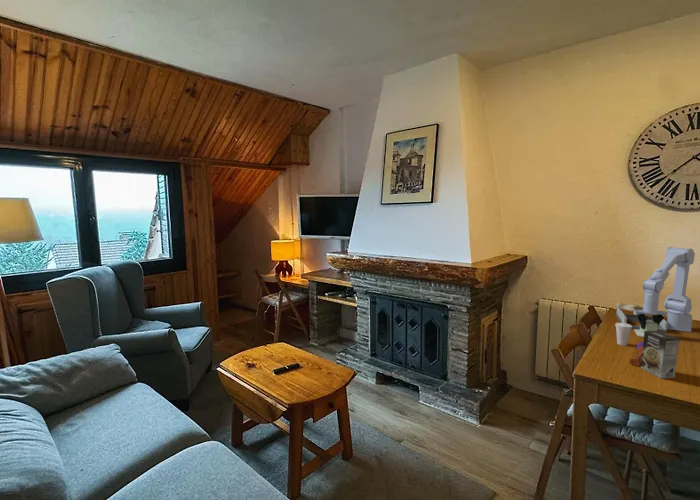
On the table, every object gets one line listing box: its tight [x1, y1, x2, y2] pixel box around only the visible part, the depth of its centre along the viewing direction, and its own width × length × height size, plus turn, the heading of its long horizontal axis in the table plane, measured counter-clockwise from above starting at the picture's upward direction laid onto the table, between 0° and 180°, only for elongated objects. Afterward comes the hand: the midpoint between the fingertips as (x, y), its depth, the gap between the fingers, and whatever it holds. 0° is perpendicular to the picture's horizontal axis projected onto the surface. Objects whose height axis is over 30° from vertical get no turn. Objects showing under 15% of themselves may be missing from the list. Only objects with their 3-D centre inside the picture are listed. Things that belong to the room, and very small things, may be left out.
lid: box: [615, 302, 644, 312], centre depth 209 cm, size 18×13×3 cm
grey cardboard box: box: [640, 331, 680, 379], centre depth 142 cm, size 9×6×16 cm
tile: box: [633, 329, 644, 338], centre depth 184 cm, size 10×10×1 cm
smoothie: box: [614, 316, 633, 347], centre depth 172 cm, size 6×6×14 cm
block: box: [639, 320, 658, 332], centre depth 184 cm, size 5×5×5 cm
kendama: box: [629, 341, 644, 367], centre depth 156 cm, size 6×6×20 cm
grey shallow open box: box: [615, 306, 668, 334], centre depth 201 cm, size 18×25×6 cm
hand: (648, 328), depth 184 cm, fingers closed on block, 5 cm apart
